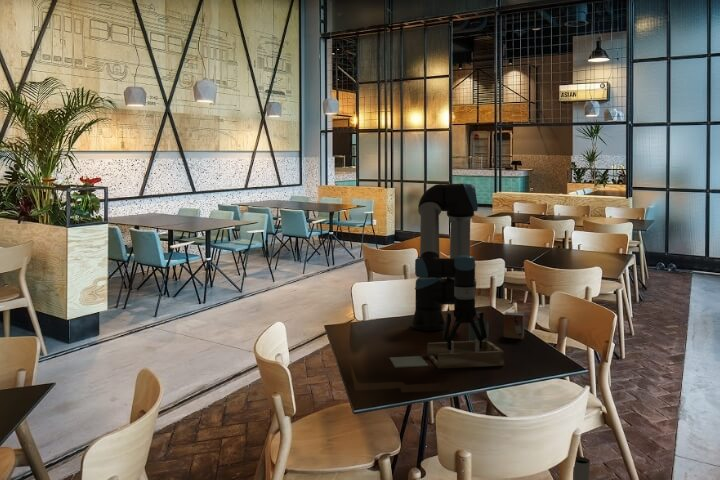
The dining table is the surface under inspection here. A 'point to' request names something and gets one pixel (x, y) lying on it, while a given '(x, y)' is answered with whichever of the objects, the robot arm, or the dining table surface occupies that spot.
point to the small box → (514, 325)
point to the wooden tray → (465, 354)
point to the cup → (472, 334)
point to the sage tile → (408, 361)
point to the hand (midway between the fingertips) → (464, 357)
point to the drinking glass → (581, 468)
